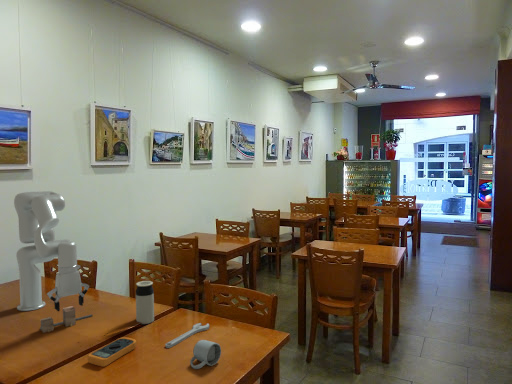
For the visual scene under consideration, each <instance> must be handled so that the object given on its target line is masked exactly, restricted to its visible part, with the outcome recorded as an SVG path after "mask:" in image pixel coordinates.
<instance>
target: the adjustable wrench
mask: <svg viewBox="0 0 512 384" xmlns="http://www.w3.org/2000/svg"><path fill="white" fill-rule="evenodd" d="M208 330H210V324H209V323H206V324H205V325H202V323H201V322H199V323H195V324H193V325H192V328H191V329H190V330H188V331H187V332H185V333H182V334H181V335H179V336H178V337H176V338H174V339H172V340H170V341H168V342H166V343H165V348H166V349H170V348H173V347H174V346H176V345H178V344H180V343H181V342H183V341H185V340H186V339H188V338H191V336H193V335H195V334H196V333H199V332H204V331H208Z"/></svg>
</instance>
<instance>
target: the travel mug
mask: <svg viewBox="0 0 512 384" xmlns="http://www.w3.org/2000/svg"><path fill="white" fill-rule="evenodd" d="M153 283H154V282H153V281H151V280H142V281H137V282H136V283H135V285H136V290H135V317H136V323H139V325H147V324H151V323H153V322H154V321H155V298H154V297H155V296H154V295H155V294H154V293H155V292H154V287H153Z"/></svg>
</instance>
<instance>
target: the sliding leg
mask: <svg viewBox="0 0 512 384" xmlns="http://www.w3.org/2000/svg"><path fill="white" fill-rule="evenodd" d="M75 318H76V308H75V307H74V306H73V305H72V306H71V305H70V306H67V307H63V308H62V322H63V324H62V325H63V326H64V327H66V328H67V327H68V328H69V327H73V326H76V324H77V323H76V322H77V321H76V319H75Z"/></svg>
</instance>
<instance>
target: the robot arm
mask: <svg viewBox="0 0 512 384" xmlns="http://www.w3.org/2000/svg"><path fill="white" fill-rule="evenodd" d="M13 204H14V205H13V206H14V208H15V211H16V214H17V217H18V218H17V219H18V236H19V240H20V243H22V244H26V246H23V247H21V248H19V249H18V250H17V251H16V253H15V254H16V260H17V265H18V274H19V275H18V277H19V296H20V297H19V298H20V299H19V301H20V302H19V305H17V306H16V310H18V311H20V312H29V311H35V310H39V309H42V308H43V307H45V306H46V302H45V301H43V299H42V297H43V296H42V295H43V294H42V273H41V270H40V268H38V266H36V265H37V264H43V263H48V262H51V261H53V260H54V259H55V258H57V266H58V267H57V269H58V273H56V276H55V286H54V288H53V289H51V290H50V291H48V292H47V293H46V295H47V296H48V298H49V299H50V300H51V301H53V302H54V310H56V312H60V311H61V309H60V308H61V307H60V302H59V301H60V300H61V298H64V297H68V296H74V295H78V305H79V306H80V307H82V306H83V304H84V301H85V299H84V297H85V295H86V294H87V292H88V290H89V289H90V285H89V284H87V283H83V282H82V280H81V275H80V271H79V269H81V265H79V264H78V257H77V254H78V252H77V244H76V242H75V241H71V240H69V239H67V238H65V239H56V238H55V229H54V228H55V227H56V226H58V224H59V223H60V219H59V216H58V215H57V212H61V211H63V210H65V208H66V200H65V199H64V197H63V195H61V194H59V193H57V192H54V191H49V190H48V191H47V190H46V191H24V192H19V193H17V194H16V195H15V196H14V199H13ZM27 244H34V245H27ZM82 287H83V290H82ZM53 294H55V296H53Z"/></svg>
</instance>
